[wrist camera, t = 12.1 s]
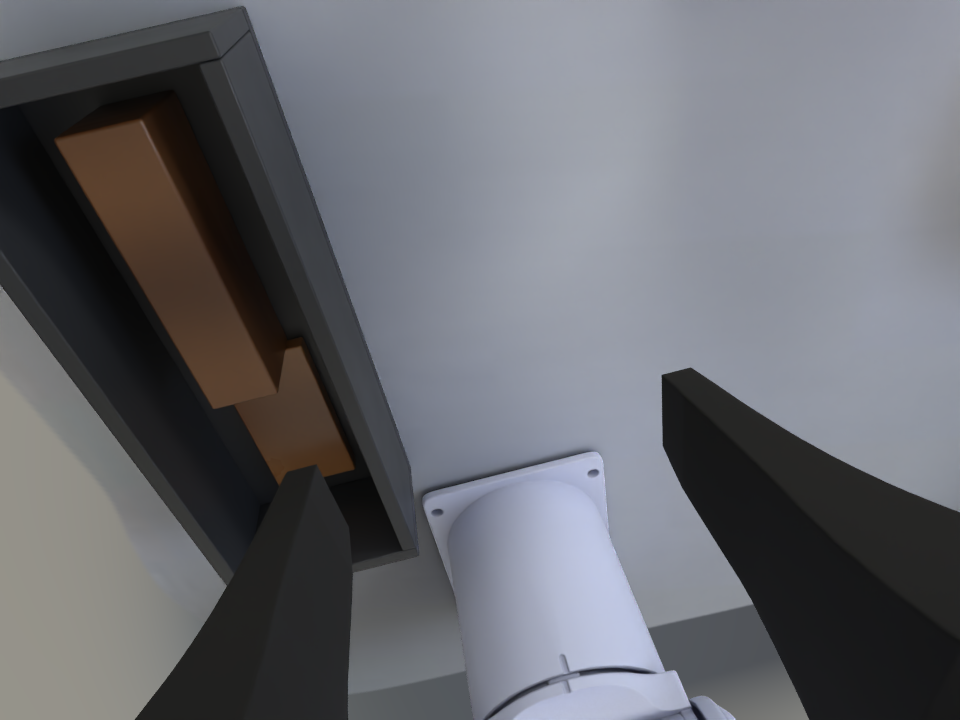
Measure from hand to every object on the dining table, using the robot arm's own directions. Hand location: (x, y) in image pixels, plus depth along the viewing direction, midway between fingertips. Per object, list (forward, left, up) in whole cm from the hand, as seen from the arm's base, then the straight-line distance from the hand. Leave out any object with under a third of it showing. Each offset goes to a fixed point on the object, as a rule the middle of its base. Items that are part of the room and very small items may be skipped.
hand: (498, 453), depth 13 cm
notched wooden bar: (+1, +7, -9) cm, 11 cm away
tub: (0, +7, -9) cm, 12 cm away
